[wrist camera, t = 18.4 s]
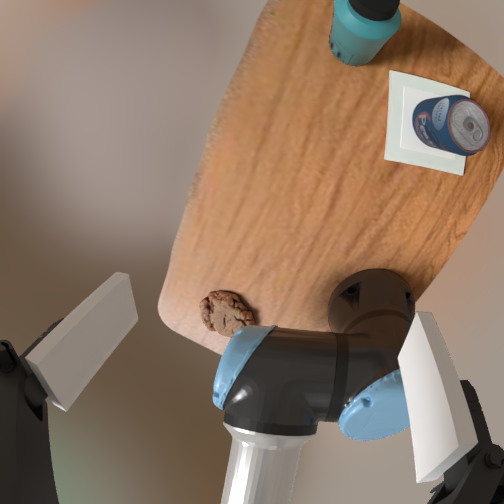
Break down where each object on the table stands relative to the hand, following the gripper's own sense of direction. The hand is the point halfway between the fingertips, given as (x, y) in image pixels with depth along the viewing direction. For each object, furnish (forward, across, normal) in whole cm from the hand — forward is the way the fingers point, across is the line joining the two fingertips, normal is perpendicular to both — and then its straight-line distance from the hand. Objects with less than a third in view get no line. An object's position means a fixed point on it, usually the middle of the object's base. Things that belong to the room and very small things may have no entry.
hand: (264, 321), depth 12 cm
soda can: (+31, -18, -11) cm, 37 cm away
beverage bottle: (+32, -6, -20) cm, 38 cm away
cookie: (+32, +11, +25) cm, 42 cm away
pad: (+32, -18, -11) cm, 38 cm away
